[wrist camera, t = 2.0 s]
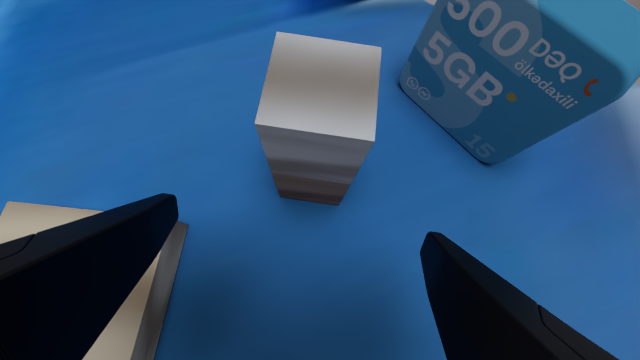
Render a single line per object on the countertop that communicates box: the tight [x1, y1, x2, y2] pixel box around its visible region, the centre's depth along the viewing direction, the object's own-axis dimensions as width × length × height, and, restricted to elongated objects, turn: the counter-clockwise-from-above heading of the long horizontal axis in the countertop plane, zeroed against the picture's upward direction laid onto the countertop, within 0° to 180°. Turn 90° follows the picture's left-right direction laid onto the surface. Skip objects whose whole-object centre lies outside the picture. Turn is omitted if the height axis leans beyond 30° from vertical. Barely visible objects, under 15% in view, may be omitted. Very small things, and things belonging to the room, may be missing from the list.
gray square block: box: [255, 32, 381, 206], centre depth 17 cm, size 5×5×12 cm
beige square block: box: [0, 201, 188, 360], centre depth 18 cm, size 11×11×3 cm
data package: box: [400, 0, 640, 164], centre depth 20 cm, size 12×4×12 cm, turn 41°
